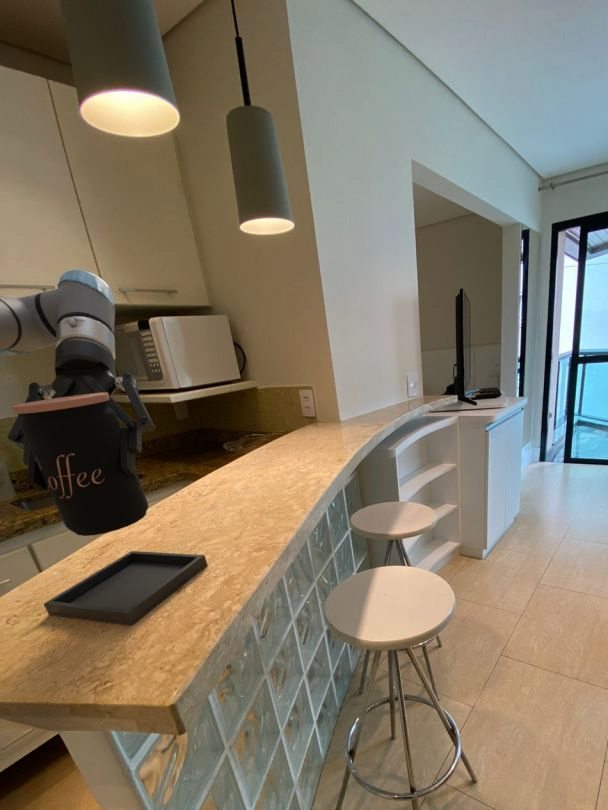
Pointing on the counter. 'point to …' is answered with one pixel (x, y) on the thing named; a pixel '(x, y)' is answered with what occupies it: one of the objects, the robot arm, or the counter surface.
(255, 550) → the counter surface
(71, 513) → the coffee jar
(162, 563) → the black tray
